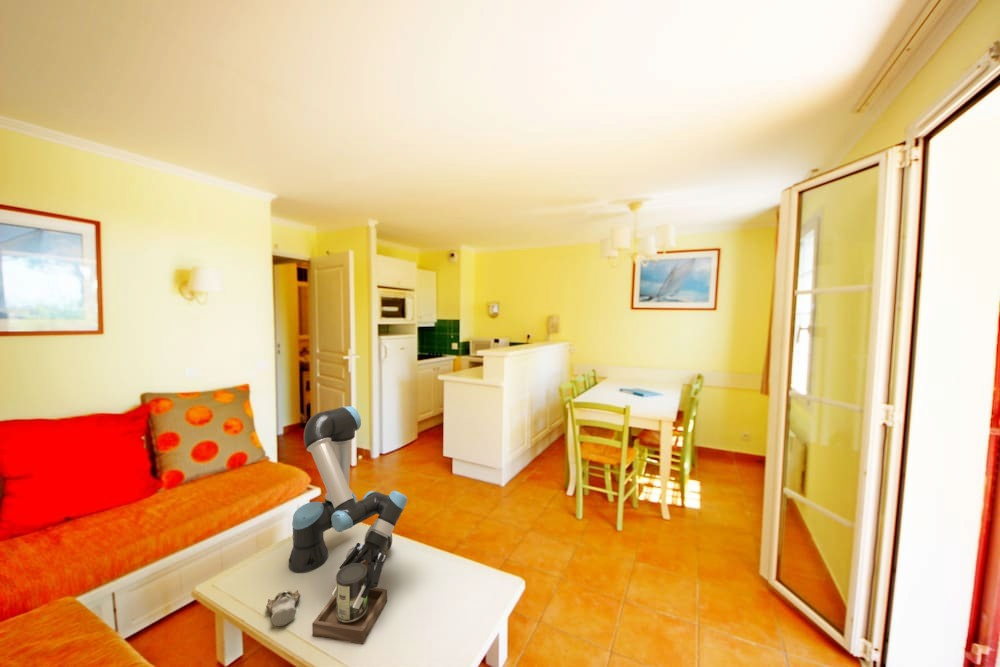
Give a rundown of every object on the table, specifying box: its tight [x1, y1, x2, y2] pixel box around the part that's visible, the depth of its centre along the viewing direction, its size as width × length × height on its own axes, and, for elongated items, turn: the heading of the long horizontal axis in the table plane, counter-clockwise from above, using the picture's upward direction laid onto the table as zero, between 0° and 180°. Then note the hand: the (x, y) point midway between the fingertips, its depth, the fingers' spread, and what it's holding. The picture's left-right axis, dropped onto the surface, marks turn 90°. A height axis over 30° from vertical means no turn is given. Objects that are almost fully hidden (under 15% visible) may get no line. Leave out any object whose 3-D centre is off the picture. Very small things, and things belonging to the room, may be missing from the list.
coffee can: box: [335, 563, 368, 623], centre depth 129 cm, size 10×10×14 cm
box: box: [311, 587, 389, 645], centre depth 129 cm, size 18×18×4 cm
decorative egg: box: [363, 523, 393, 556], centre depth 161 cm, size 12×12×15 cm
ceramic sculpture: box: [265, 589, 301, 627], centre depth 130 cm, size 11×9×15 cm
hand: (344, 601), depth 126 cm, fingers closed on coffee can, 10 cm apart
